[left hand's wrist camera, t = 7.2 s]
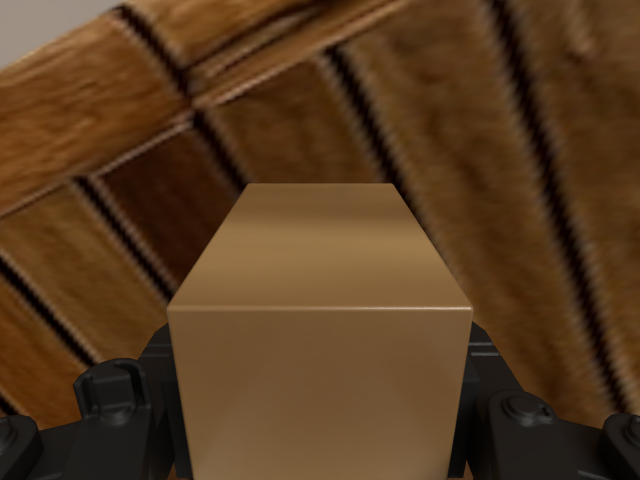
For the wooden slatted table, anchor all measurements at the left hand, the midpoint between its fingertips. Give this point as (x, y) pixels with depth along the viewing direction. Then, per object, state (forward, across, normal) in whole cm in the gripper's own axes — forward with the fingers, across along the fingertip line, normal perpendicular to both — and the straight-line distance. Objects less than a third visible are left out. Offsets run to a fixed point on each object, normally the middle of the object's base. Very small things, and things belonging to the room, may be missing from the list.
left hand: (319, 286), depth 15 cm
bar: (+1, 0, -8) cm, 8 cm away
